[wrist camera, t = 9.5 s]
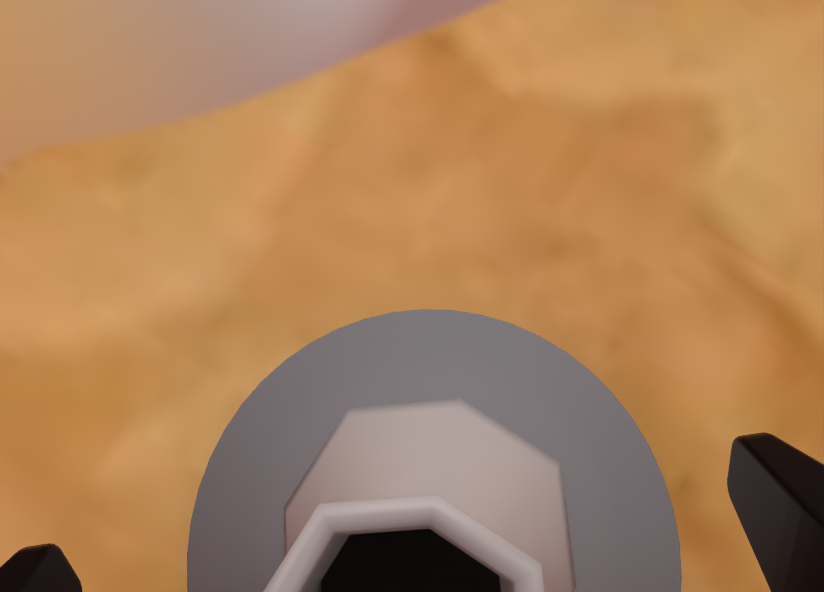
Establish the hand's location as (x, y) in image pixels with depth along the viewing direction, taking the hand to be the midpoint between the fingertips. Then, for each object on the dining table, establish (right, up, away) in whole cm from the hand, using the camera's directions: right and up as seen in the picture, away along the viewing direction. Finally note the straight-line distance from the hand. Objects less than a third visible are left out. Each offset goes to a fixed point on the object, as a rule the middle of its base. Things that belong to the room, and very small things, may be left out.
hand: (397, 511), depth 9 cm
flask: (+1, -3, +8) cm, 8 cm away
